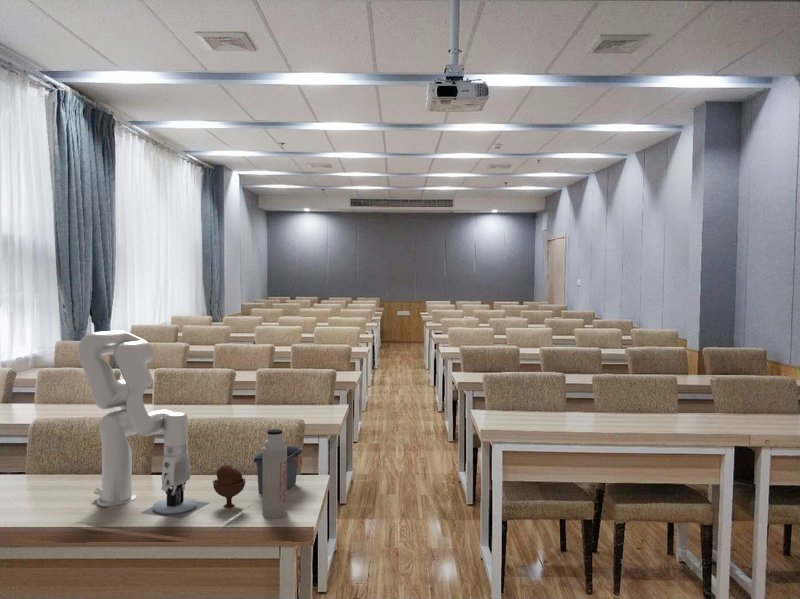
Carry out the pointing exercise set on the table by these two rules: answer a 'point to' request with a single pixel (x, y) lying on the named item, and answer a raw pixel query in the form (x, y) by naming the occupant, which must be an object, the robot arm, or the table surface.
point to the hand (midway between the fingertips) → (175, 503)
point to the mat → (180, 515)
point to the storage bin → (291, 466)
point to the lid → (179, 508)
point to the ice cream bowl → (228, 483)
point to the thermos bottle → (274, 475)
